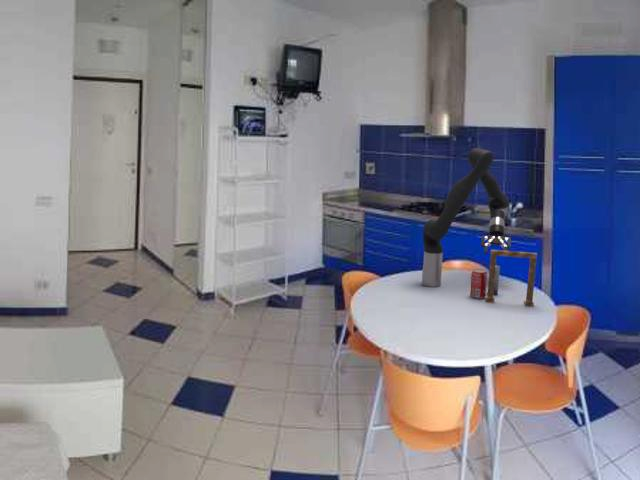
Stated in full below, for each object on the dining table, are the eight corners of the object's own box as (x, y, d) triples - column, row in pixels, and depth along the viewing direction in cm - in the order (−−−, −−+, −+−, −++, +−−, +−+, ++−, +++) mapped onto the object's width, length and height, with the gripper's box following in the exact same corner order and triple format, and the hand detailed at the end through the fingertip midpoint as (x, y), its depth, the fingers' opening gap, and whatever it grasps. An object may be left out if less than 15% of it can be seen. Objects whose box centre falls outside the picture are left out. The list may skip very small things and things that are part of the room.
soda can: (486, 299, 247) (488, 273, 244) (470, 298, 248) (472, 272, 246) (484, 295, 254) (486, 269, 251) (469, 294, 255) (471, 268, 252)
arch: (485, 301, 244) (489, 251, 239) (485, 298, 249) (489, 249, 244) (533, 306, 238) (539, 255, 233) (533, 303, 242) (538, 252, 238)
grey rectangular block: (488, 294, 255) (490, 266, 252) (488, 292, 259) (490, 264, 256) (497, 295, 254) (500, 267, 251) (497, 293, 258) (499, 265, 255)
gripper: (482, 222, 272) (480, 249, 263) (512, 224, 268) (511, 251, 259) (482, 231, 278) (480, 257, 269) (510, 233, 274) (509, 259, 265)
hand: (495, 254), depth 264 cm, fingers open, 8 cm apart
